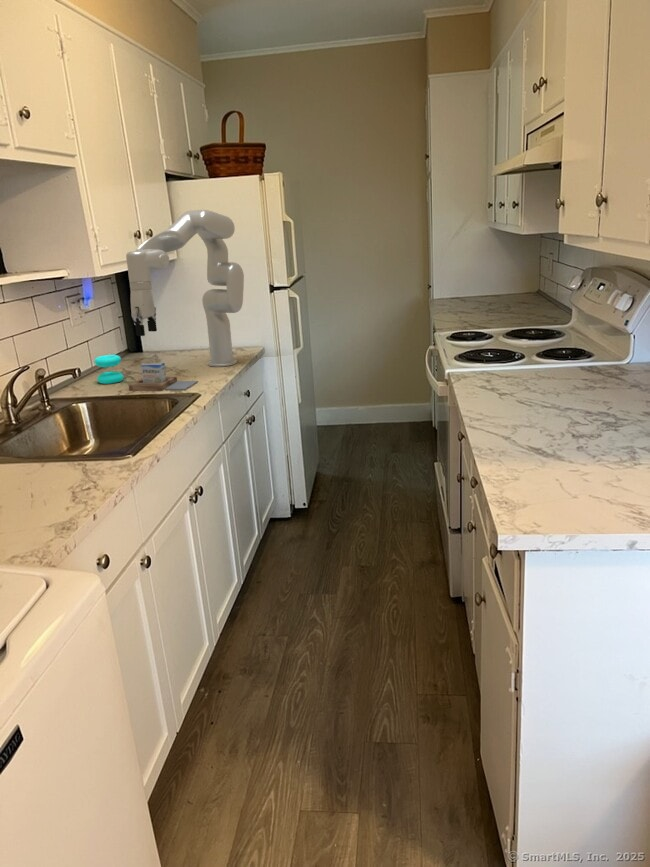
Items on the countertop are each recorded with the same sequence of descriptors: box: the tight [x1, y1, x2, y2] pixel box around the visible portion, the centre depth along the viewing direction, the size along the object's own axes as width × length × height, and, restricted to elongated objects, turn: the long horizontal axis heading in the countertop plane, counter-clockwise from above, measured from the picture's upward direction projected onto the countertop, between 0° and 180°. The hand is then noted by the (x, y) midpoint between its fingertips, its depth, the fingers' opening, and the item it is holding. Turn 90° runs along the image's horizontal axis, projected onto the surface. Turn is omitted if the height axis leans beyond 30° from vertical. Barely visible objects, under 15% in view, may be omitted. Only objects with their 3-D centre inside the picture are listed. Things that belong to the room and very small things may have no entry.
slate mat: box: [164, 380, 199, 391], centre depth 245 cm, size 12×8×1 cm, turn 168°
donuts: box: [93, 354, 125, 385], centre depth 256 cm, size 10×10×10 cm
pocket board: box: [128, 376, 178, 392], centre depth 247 cm, size 14×13×2 cm
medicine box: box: [140, 362, 167, 383], centre depth 246 cm, size 8×4×9 cm, turn 84°
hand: (146, 333), depth 241 cm, fingers open, 9 cm apart
